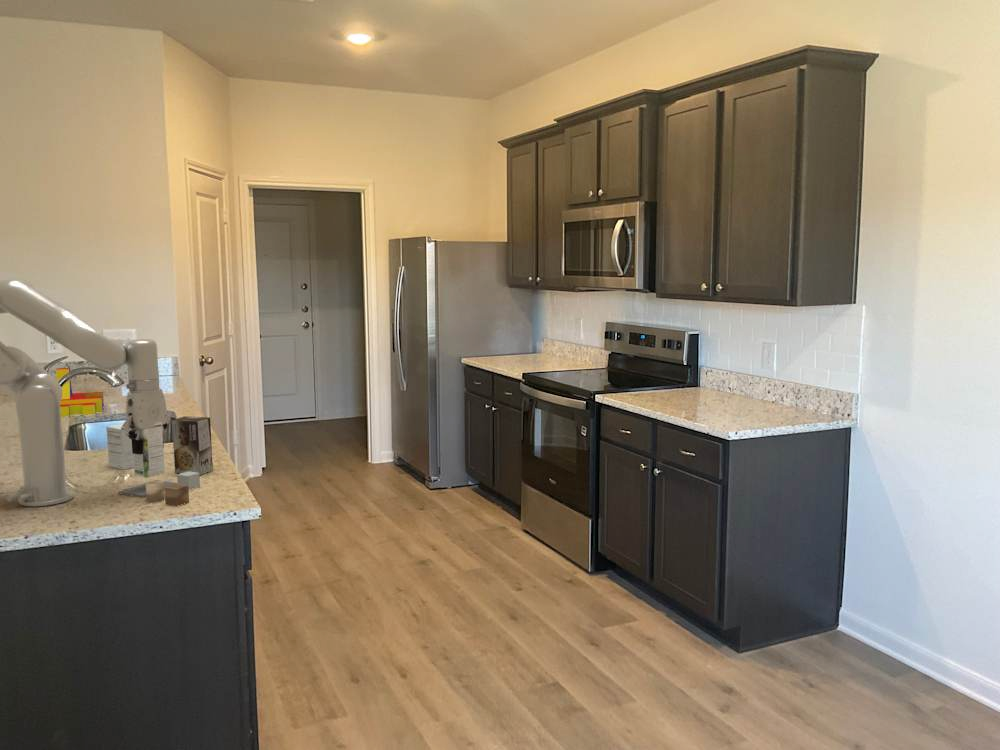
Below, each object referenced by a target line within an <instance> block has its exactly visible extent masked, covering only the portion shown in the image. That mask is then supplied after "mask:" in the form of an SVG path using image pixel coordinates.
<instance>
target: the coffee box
mask: <svg viewBox="0 0 1000 750" xmlns="http://www.w3.org/2000/svg"><path fill="white" fill-rule="evenodd" d="M211 425H212V423H211V417H206V416H205V417H204V416H188V415H187V416H181V417H178V418H175V419H171V431H172V446H173V460H174V474H177V473H184V472H188V471H190V472H197V473H199V476H202V475H204V474H207V472H208V473H209V472H210V473H211V472H212V471H214V465H213V464H214V463H213V449H212V448H213V446H212V427H211Z"/></svg>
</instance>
